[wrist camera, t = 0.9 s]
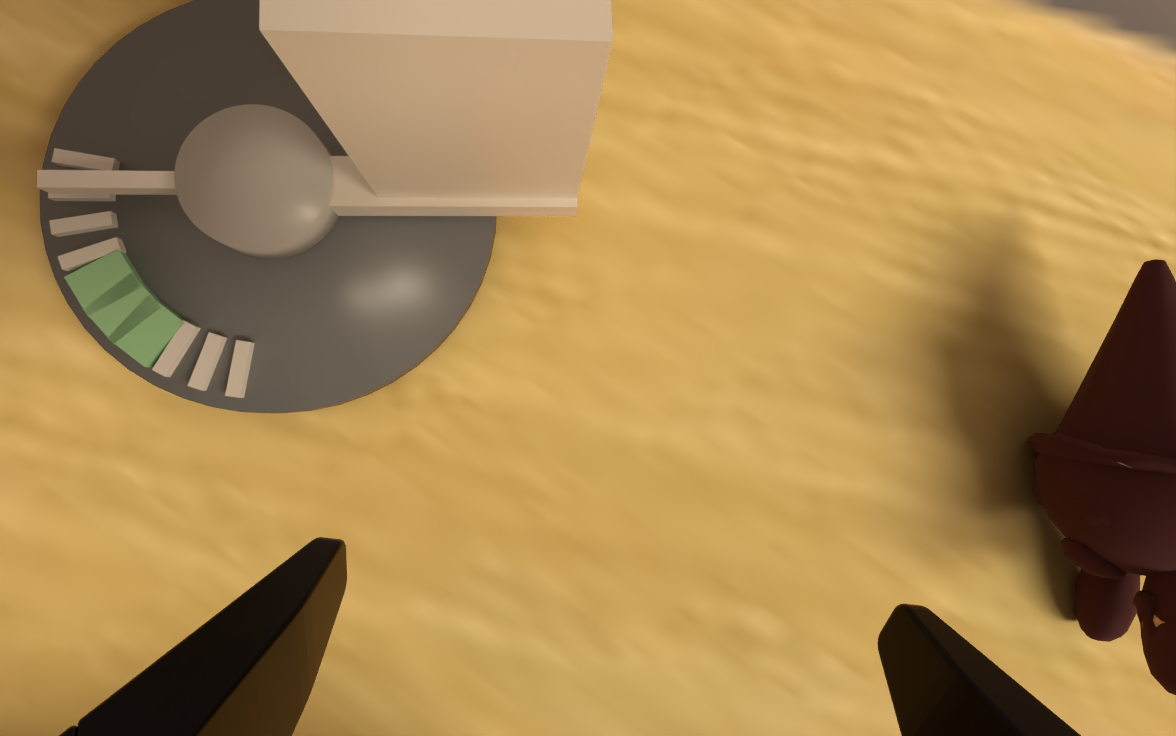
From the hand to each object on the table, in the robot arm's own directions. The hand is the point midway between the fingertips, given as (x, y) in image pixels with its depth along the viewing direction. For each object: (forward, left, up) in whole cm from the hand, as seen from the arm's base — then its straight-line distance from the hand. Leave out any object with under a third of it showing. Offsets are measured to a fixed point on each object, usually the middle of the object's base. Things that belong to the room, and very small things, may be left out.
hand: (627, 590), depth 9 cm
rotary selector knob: (+3, +14, -12) cm, 19 cm away
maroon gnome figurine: (+13, -16, -13) cm, 25 cm away
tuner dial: (+2, +15, -13) cm, 20 cm away
